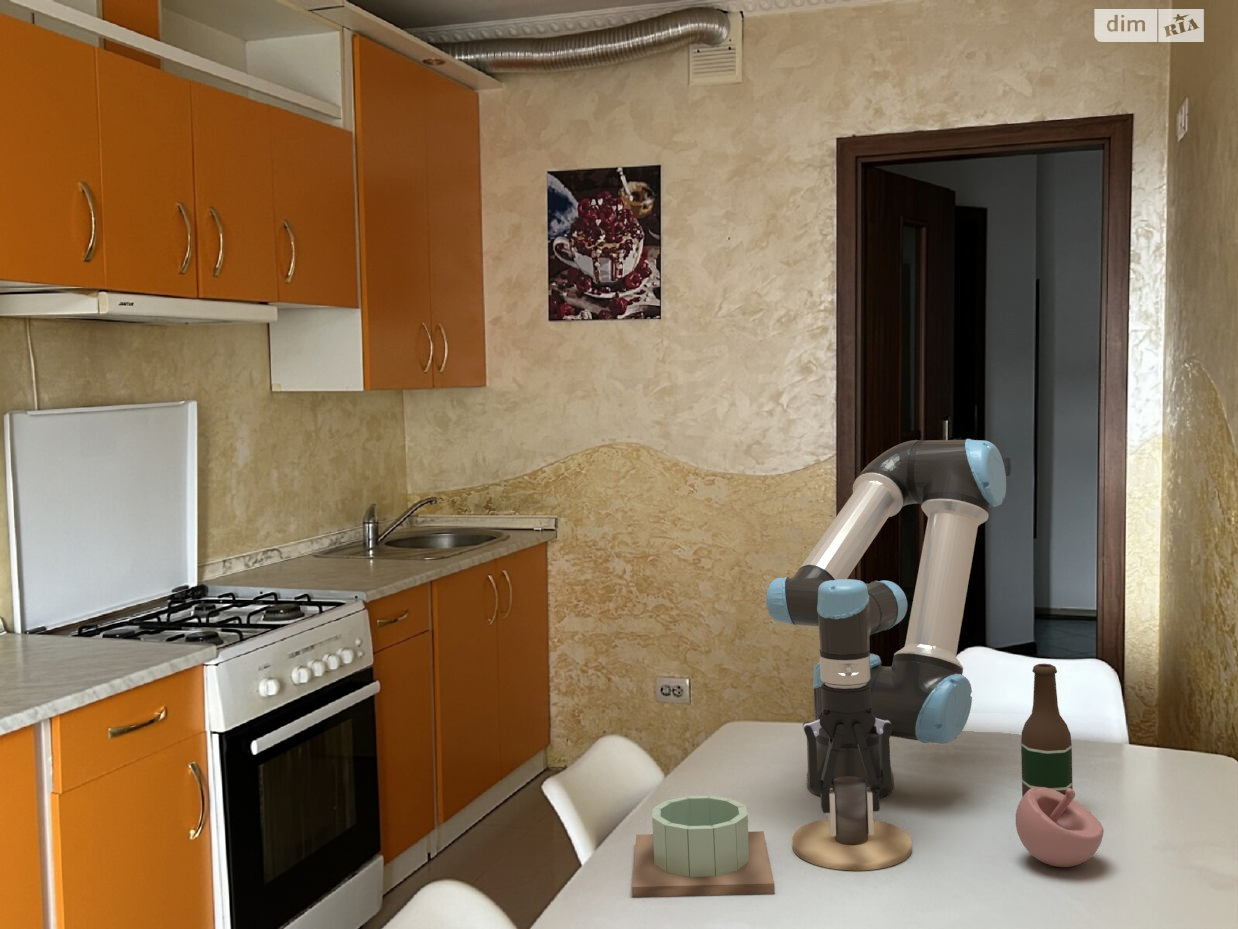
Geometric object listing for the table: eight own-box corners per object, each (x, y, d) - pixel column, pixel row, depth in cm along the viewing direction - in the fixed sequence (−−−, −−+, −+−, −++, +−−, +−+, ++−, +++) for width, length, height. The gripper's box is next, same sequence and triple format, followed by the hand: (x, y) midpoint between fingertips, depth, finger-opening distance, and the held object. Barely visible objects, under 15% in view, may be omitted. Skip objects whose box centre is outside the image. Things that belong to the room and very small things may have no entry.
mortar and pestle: (1095, 886, 167) (1093, 805, 166) (1007, 871, 173) (1005, 793, 173) (1111, 856, 177) (1109, 780, 177) (1027, 843, 184) (1025, 769, 183)
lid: (900, 823, 193) (897, 761, 193) (923, 868, 175) (920, 800, 175) (787, 827, 194) (784, 765, 194) (798, 872, 176) (796, 804, 176)
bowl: (745, 839, 186) (743, 794, 186) (751, 875, 172) (749, 827, 172) (655, 841, 187) (653, 797, 187) (653, 878, 173) (651, 830, 173)
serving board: (763, 840, 189) (763, 831, 189) (774, 894, 169) (774, 883, 169) (636, 844, 190) (636, 834, 190) (632, 897, 170) (632, 887, 170)
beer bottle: (1048, 822, 192) (1045, 673, 190) (1012, 808, 199) (1009, 664, 197) (1083, 812, 195) (1080, 666, 194) (1046, 799, 202) (1043, 657, 201)
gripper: (788, 691, 180) (794, 843, 181) (910, 686, 179) (915, 839, 180) (784, 678, 187) (789, 825, 189) (900, 674, 186) (905, 821, 188)
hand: (851, 831), depth 185 cm, fingers closed on lid, 5 cm apart
